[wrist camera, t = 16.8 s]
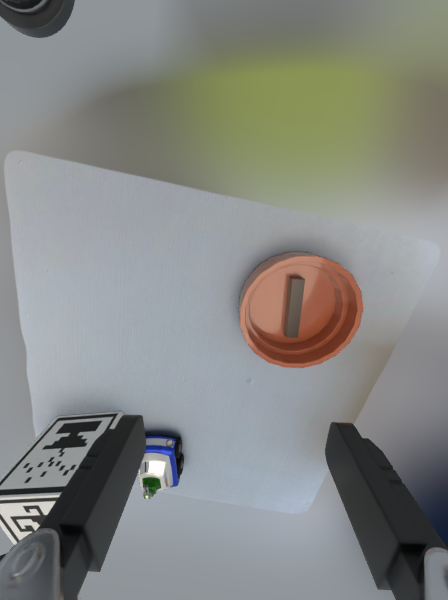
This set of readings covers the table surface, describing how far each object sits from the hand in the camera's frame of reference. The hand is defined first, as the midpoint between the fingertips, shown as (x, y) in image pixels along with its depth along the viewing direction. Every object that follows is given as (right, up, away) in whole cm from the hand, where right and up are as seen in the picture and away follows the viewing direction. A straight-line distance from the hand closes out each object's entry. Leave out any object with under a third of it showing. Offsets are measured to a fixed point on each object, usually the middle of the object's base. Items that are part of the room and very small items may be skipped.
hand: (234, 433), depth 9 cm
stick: (+11, +5, +27) cm, 30 cm away
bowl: (+11, +5, +28) cm, 30 cm away
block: (-28, -26, +39) cm, 55 cm away
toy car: (-14, -28, +40) cm, 50 cm away
